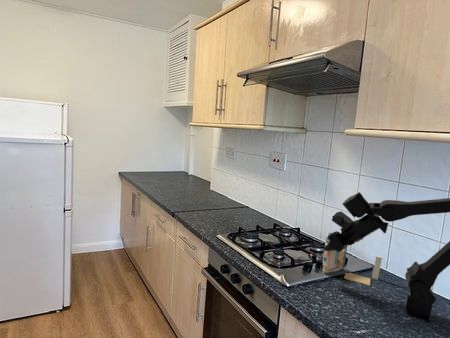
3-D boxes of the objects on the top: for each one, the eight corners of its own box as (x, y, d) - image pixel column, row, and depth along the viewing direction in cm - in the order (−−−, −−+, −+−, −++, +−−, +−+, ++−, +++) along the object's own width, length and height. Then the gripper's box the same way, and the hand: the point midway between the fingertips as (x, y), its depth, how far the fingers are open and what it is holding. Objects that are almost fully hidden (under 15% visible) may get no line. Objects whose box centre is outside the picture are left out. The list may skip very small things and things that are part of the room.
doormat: (370, 279, 121) (370, 278, 121) (369, 286, 116) (370, 285, 116) (345, 272, 125) (346, 271, 125) (344, 278, 120) (344, 277, 120)
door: (340, 268, 127) (343, 249, 126) (344, 270, 125) (347, 251, 124) (322, 271, 122) (325, 252, 121) (326, 274, 121) (329, 254, 119)
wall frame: (377, 278, 123) (381, 256, 121) (377, 280, 121) (381, 258, 120) (322, 262, 132) (326, 242, 130) (322, 264, 130) (325, 243, 129)
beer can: (321, 262, 117) (325, 231, 115) (335, 264, 116) (339, 233, 114) (323, 268, 112) (327, 236, 110) (337, 270, 111) (341, 237, 110)
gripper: (359, 203, 115) (327, 224, 124) (337, 210, 101) (302, 233, 110) (378, 229, 111) (344, 249, 120) (358, 241, 97) (321, 262, 106)
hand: (328, 247), depth 114 cm, fingers closed on beer can, 5 cm apart
